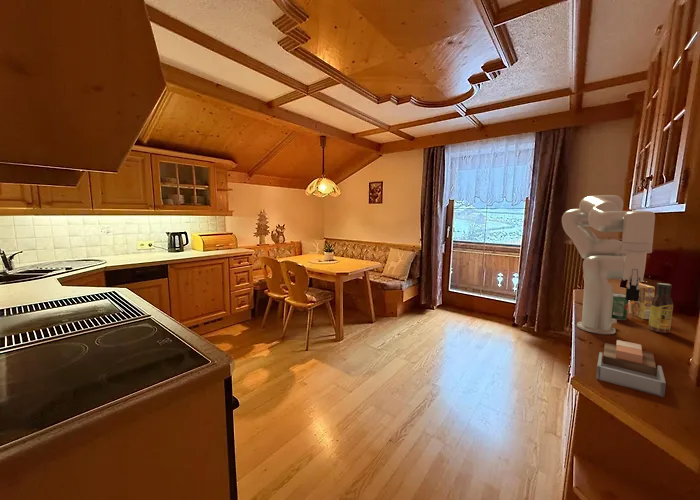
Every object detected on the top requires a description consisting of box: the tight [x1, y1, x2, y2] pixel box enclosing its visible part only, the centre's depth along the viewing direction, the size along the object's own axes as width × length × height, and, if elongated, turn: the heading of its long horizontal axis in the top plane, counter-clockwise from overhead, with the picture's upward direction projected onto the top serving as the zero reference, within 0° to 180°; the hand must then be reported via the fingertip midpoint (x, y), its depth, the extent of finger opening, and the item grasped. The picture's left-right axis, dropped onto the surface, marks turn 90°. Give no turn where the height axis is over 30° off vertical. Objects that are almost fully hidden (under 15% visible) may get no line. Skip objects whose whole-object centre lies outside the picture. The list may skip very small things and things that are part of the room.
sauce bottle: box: [648, 282, 674, 334], centre depth 122 cm, size 6×6×20 cm
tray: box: [595, 351, 667, 398], centre depth 88 cm, size 12×14×4 cm
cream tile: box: [615, 339, 643, 351], centre depth 98 cm, size 5×6×2 cm
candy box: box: [628, 282, 656, 320], centre depth 139 cm, size 9×4×15 cm, turn 171°
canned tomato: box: [611, 292, 629, 321], centre depth 139 cm, size 8×8×11 cm
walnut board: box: [602, 342, 657, 376], centre depth 97 cm, size 13×12×3 cm
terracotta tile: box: [616, 345, 643, 364], centre depth 94 cm, size 5×6×2 cm
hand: (631, 300), depth 102 cm, fingers closed
